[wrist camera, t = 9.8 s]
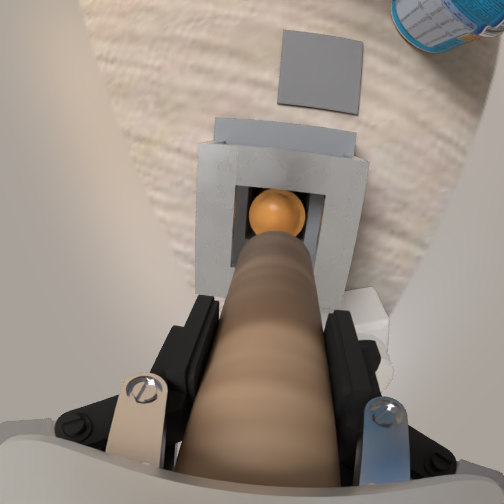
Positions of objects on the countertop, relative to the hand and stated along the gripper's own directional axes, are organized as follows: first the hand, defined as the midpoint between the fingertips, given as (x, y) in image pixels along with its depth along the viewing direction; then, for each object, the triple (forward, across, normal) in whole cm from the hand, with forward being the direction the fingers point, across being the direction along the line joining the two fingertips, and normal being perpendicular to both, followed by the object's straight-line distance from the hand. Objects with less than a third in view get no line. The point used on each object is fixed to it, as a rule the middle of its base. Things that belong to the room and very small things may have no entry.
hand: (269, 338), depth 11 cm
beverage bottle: (+23, -14, -22) cm, 35 cm away
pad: (+23, -3, -14) cm, 26 cm away
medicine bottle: (+22, -10, +14) cm, 28 cm away
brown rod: (+6, 0, 0) cm, 6 cm away
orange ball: (+22, 0, +1) cm, 22 cm away
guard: (+17, 0, 0) cm, 17 cm away
